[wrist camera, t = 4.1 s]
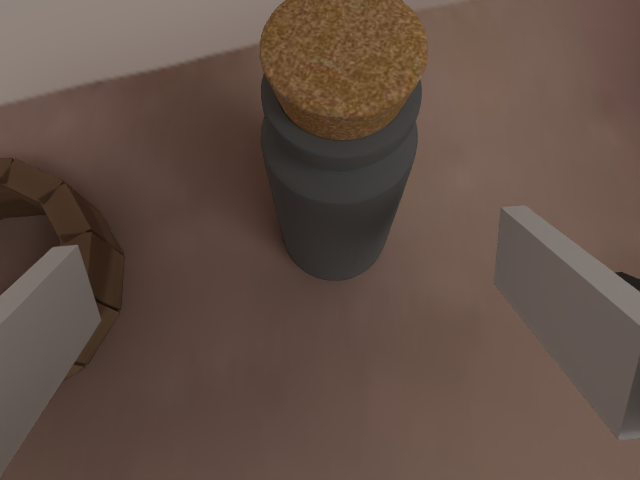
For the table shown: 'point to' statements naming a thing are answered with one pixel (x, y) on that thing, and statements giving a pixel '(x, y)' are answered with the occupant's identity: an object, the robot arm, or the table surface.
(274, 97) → the bottle
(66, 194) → the bead ring
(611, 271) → the robot arm
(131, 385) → the table surface
